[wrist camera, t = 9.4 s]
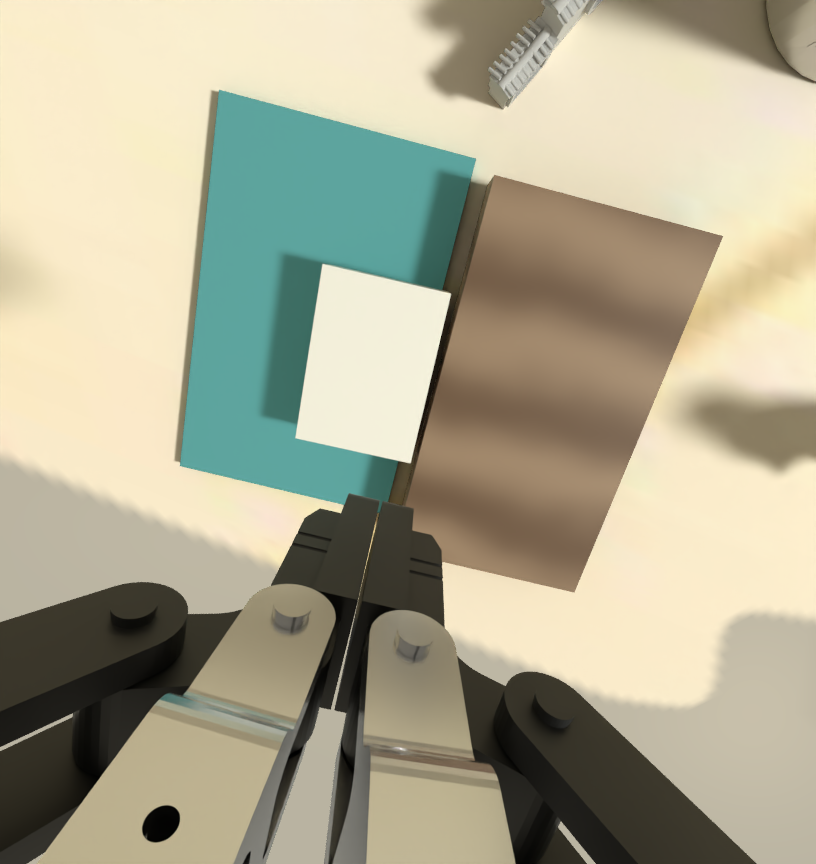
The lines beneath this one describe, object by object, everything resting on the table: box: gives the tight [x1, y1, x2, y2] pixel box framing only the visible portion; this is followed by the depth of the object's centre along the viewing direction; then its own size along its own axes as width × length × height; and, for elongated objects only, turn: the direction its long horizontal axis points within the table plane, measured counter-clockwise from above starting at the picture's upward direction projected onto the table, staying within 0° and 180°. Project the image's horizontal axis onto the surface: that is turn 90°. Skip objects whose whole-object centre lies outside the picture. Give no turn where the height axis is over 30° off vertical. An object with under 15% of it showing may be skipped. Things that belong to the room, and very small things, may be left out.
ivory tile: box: [295, 264, 451, 463], centre depth 29 cm, size 10×7×2 cm
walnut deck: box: [402, 175, 723, 592], centre depth 29 cm, size 22×12×3 cm, turn 166°
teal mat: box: [180, 90, 476, 513], centre depth 30 cm, size 22×14×1 cm, turn 166°
